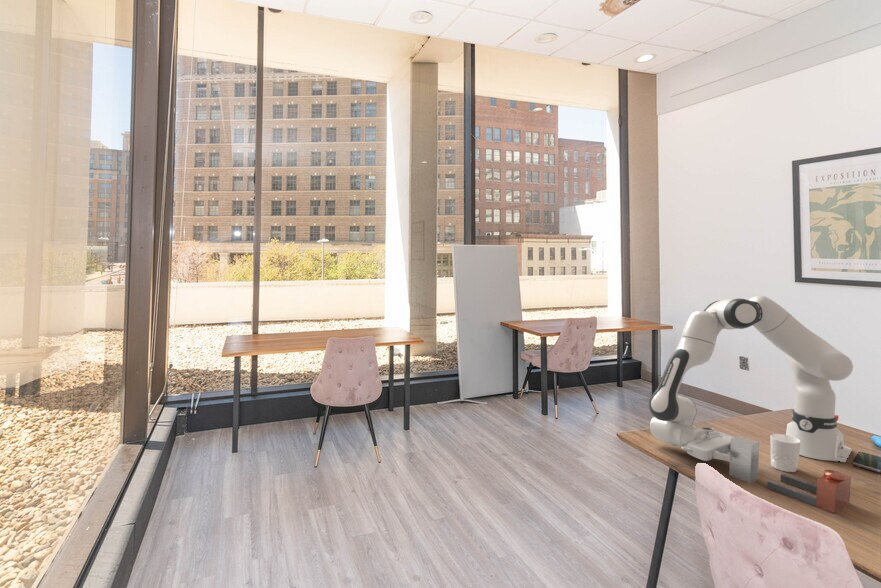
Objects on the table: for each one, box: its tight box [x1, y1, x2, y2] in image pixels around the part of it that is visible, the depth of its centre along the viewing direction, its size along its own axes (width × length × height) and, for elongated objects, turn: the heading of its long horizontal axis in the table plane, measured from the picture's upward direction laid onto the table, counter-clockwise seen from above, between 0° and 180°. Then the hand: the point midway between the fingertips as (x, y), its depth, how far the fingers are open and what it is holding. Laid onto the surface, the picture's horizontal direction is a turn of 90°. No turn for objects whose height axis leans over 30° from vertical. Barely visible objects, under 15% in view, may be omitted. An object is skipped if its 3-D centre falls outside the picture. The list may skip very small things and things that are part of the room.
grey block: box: [728, 435, 760, 484], centre depth 139 cm, size 5×6×12 cm
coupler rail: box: [766, 469, 852, 514], centre depth 127 cm, size 10×16×9 cm, turn 29°
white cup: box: [769, 433, 801, 473], centre depth 145 cm, size 8×8×10 cm
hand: (739, 455), depth 140 cm, fingers open, 8 cm apart
